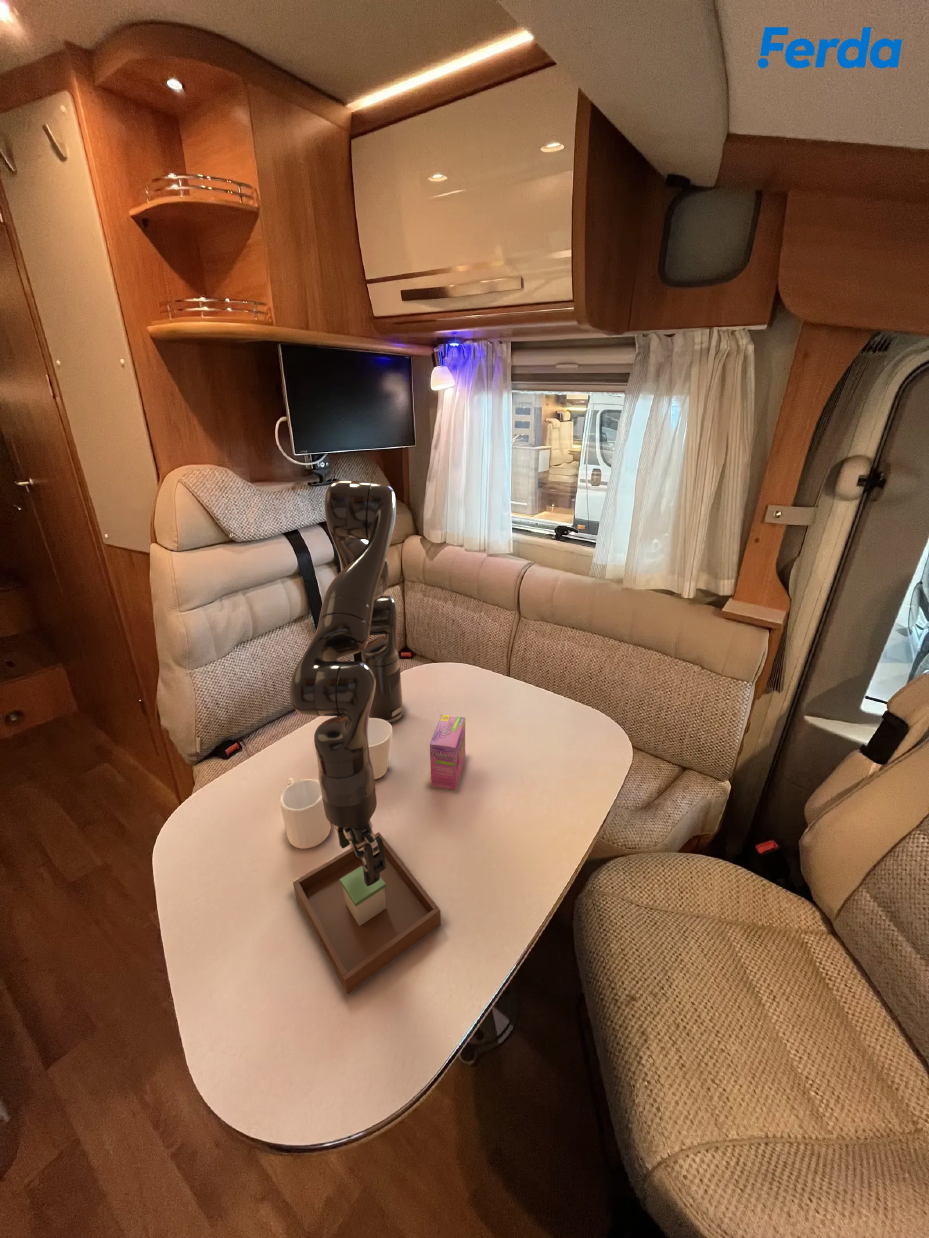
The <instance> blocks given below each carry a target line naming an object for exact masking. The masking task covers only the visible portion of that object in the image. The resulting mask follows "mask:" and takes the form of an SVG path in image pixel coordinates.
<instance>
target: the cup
mask: <svg viewBox="0 0 929 1238" xmlns="http://www.w3.org/2000/svg"><path fill="white" fill-rule="evenodd" d="M392 735H393V726H392V725H391V723H388V722H387V721H385V720H383V719H378V718H369V720H368V745H369V753H370V759H371V762H372V766H373V772H374V780H377V779H380V778H382V777H383V776H384V775H385V774H386V773H387V772H388V768H389V758H390V757H389V756H390V748H391V739H392Z"/></svg>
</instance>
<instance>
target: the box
mask: <svg viewBox="0 0 929 1238" xmlns="http://www.w3.org/2000/svg"><path fill="white" fill-rule="evenodd" d="M465 760H466V717H463V716H458V715H450V714H449V715H448V714H441V715H440V717H439V719H438V721H437V725H436V727H435V730H434V731H433V735H432V737H431V740H430V742H429V761H430V762H429V763H430V787H433V788H440V789H446V790H453V791H457V787H458V784H459V781H460V777H461V774H462V770H463V767H464V764H465Z"/></svg>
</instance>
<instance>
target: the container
mask: <svg viewBox="0 0 929 1238" xmlns="http://www.w3.org/2000/svg"><path fill="white" fill-rule="evenodd" d="M340 883H341V884H342V886H343V891H344V897H345V903H346V905H347V907H348V908H349V910H350V912H351V913H352V915H353V917H354V918H355V920H356V921H357V923H358V925H359V926H361V925H362V924H364V923H365V922H367V921H368V920H370V919H371V918H372V917H374V916H375V915H377V914H378V913H380V912H381V911H383V910H384V909H386V908H387V907H386V899H385V890H384V888H385V887H386V884H385V882H384V881H383V880H382V878H381V877H380V878H379V881H377V882H376V883H374V884H372V885H370V886H367V885H366V883H365V881H364V874H363V868H362V866H360V867H359V868H357V869H356V870H354V871H352V872H351V873H349V874H347V875H346V876H344V877H343V878H341V879H340Z"/></svg>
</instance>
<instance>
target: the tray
mask: <svg viewBox="0 0 929 1238" xmlns="http://www.w3.org/2000/svg"><path fill="white" fill-rule="evenodd" d="M374 836H375V838H377V837H378V836H380V837H381V838H382V840H383V847H384V854H385V861H386V867H387V868H386V869H385V870H383V871H382V872H380V873H379V874H380V877H381V878H382V880H383V881H384V882H385V884H386V887H385V888H384V890H385V899H386V907H387V908H386V909H384V910H383V911H381V912H380V913H378V914H377V915H375V916H374V917H372V918H371V919H370V920H368V921H367V922H365V923H364V924H362V925H361V926H359V925H358V923H357V921H356V920H355V918H354V917H353V915H352V913H351V912H350V910H349V908H348V907H347V905H346V903H345V897H344V891H343V886H342V884H341V883H340V879H341V878H343V877H344V876H346V875H347V874H349V873H351V872H352V871H354V870H356V869H357V868H359V867H360V866H362V864H361V862H360V859H359V858H358V857H356V856H354V853H353V851H352V848H351V847H350V848H349V849H347V850H345V851H344V852H342V853H340V854H338V855H337V856H335V857H333V858H331V859H330V860H328V861H326V862H325V863H323V864H321V865H320V866H317V867H316V868H313V870H311V871H309V872H308V873H306V874H304V875H302V876H301V877H299V878H297V879H296V880H293V881H292V886H293V890H294V895H295V897H296V899H297V900H298V903H299V904H300V906H301V908H302V910H303V912H304V914H305V916H306V918H307V920H308V922H309V924H310V926H311V927H312V929H313V931H314V933H315V935H316V937H317V939H318V941H319V943H320V944H321V945H320V946H321V947H322V949H323V950H324V953H325V955H326V956H327V959H328V960H329V962H330V963H331V965H332V968H333V970H334V972H335V973H336V975H337V977H338V979H339V981H340V983H341V985H342V987H343V989H344V991H345V993H346V994H348V995H349V994H350V993H351V992H352V991H353V990H355V989H356V988H357V987H359V986H360V985H361V984H363V983H364V982H366V980H368V979H369V978H371V977H372V976H373V975H375V974H376V973H377V972H378V971H380V970H381V969H382V968H384V967H386V966H387V965H388V964H389V963H390V962H392V961H393V960H394V959H396V958H397V957H398V956H400V955H401V954H402V953H404V952H405V951H407V950H408V949H409V948H410V947H412V946H413V945H414V944H415V943H417V942H418V941H419V940H421V939H422V938H423V937H425V936H426V935H427V934H429V933H430V932H431V931H433V930H434V929H435V928H437V927H438V926H439V925H441V924H442V919H441V909H440V908H439V906H438V905H437V904H436V902H434V900H433V899H432V897H431V896H430V895H429V894H428V893H427V891H426V890H425V889H424V887H423V886H422V885H421V883H420V882H419V881H418V880H417V878H416V877H415V876H414V874H413V873H412V872H411V871H410V869H409V868H408V867H407V865H405V863H404V862H403V860H402V859H401V857H399V855H398V854H397V853H396V852H395V850H394V849H393V848H392V846H391V845H390V844H389V843H388V841H387V840H386V839H385V837H384V836H383V835H382V834H381V832H380V831H377V832H376V833H374ZM365 844H366V843H365V841H364V842H362V843H361V844H359V845H357V848H358V850H359V849H361V848H363V845H365ZM364 857H365V855H364ZM365 860H366V858H365Z"/></svg>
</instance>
